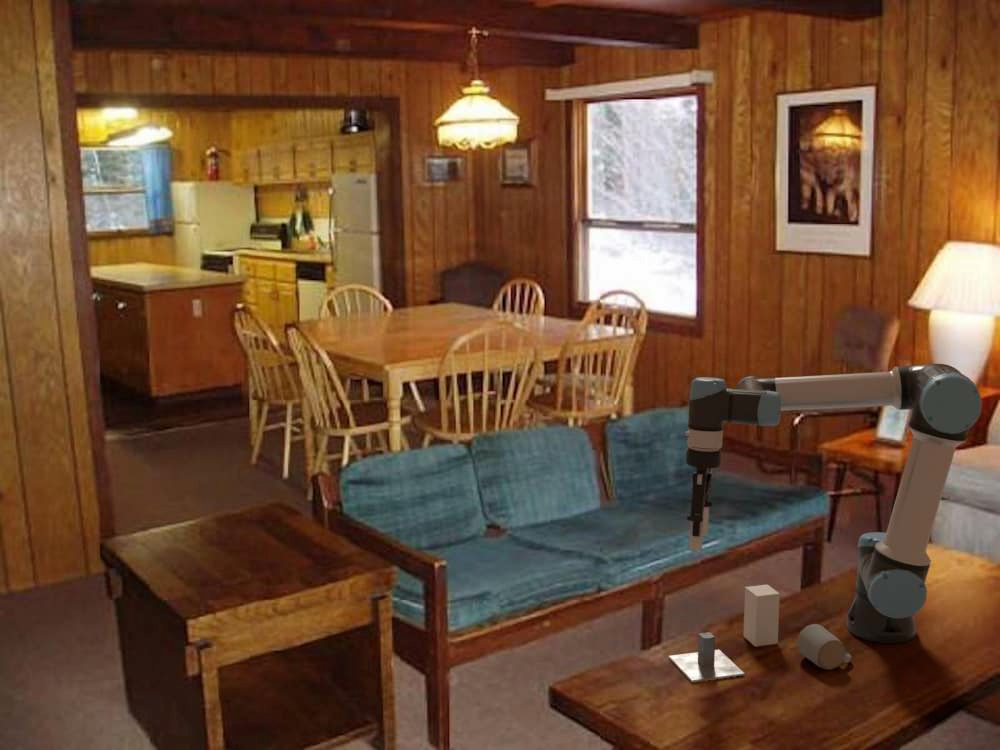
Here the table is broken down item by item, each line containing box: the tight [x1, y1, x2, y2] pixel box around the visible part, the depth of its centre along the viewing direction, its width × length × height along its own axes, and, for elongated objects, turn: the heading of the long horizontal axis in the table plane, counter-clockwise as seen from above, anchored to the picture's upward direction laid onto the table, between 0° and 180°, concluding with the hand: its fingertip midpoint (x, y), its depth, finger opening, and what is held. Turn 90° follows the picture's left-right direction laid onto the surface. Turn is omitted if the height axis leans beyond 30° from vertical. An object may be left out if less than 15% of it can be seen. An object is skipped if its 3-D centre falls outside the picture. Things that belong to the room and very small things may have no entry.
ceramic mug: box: [796, 623, 852, 671], centre depth 230 cm, size 11×8×8 cm
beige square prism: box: [743, 584, 781, 647], centre depth 241 cm, size 6×6×12 cm
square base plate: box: [668, 632, 745, 684], centre depth 228 cm, size 12×12×7 cm
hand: (698, 542), depth 235 cm, fingers open, 13 cm apart
